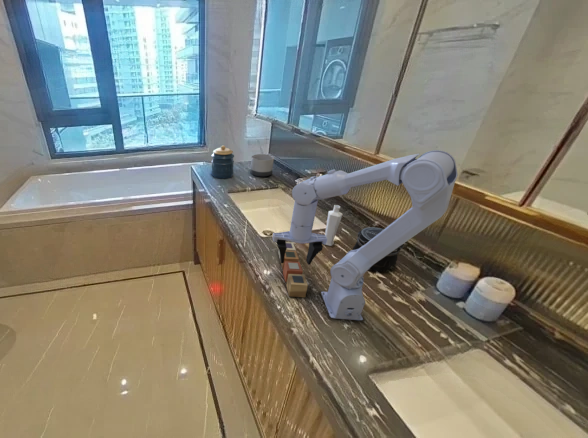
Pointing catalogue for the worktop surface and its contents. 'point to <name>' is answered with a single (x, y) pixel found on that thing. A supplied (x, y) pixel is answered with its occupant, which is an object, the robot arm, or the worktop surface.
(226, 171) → the canister
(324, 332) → the worktop surface
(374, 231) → the container
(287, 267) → the terracotta block
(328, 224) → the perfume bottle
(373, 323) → the worktop surface
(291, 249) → the cream block
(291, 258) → the beech block
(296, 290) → the maple block
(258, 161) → the planter
